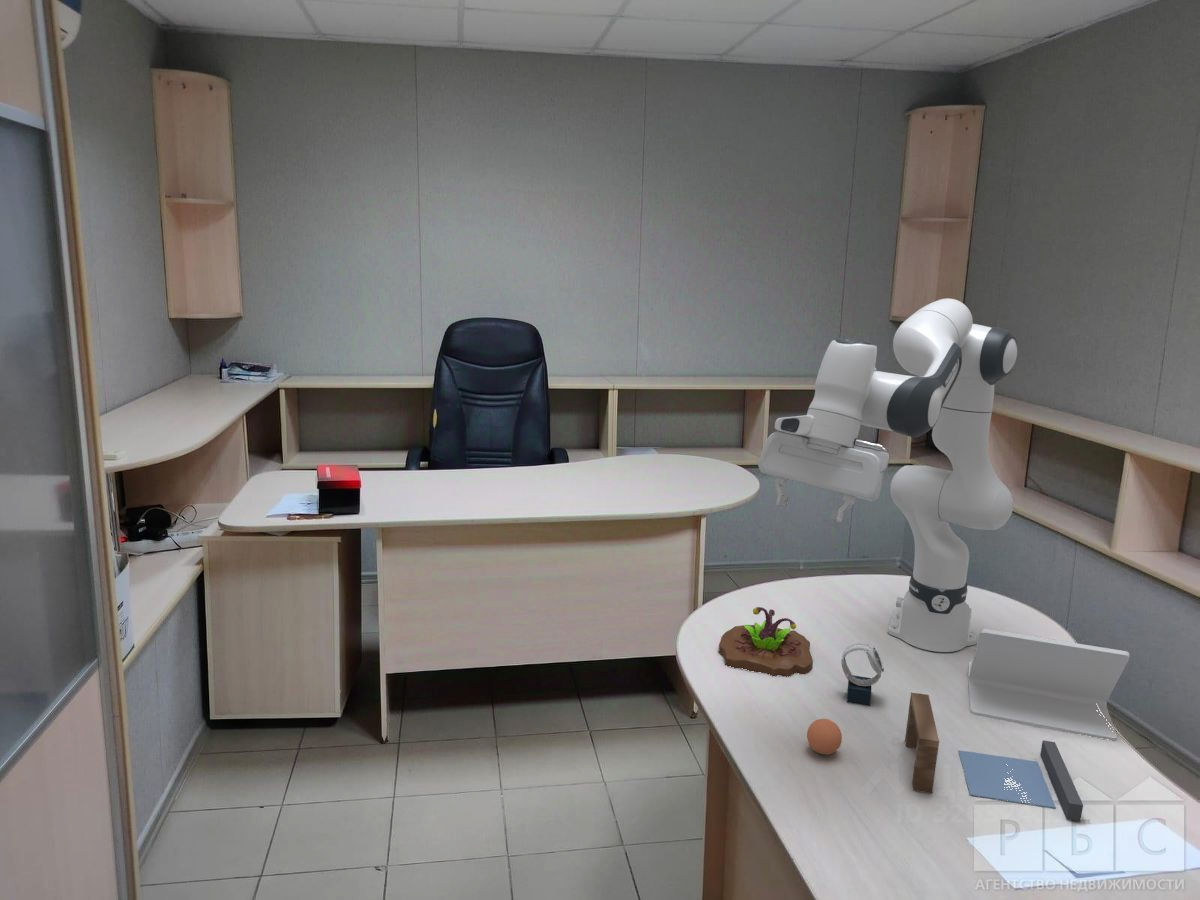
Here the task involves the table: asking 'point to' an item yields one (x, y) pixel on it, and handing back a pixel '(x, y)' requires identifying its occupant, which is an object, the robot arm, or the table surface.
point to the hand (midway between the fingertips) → (808, 513)
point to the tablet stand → (1044, 682)
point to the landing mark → (991, 771)
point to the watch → (856, 684)
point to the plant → (767, 647)
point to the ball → (824, 736)
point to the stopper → (1061, 781)
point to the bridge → (922, 741)
